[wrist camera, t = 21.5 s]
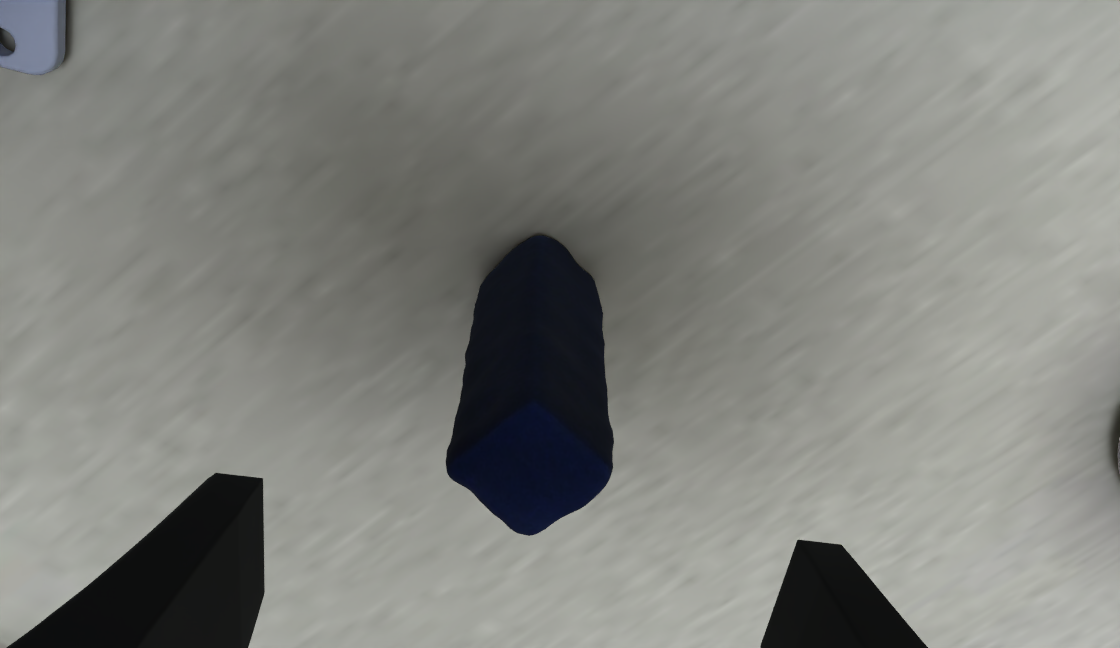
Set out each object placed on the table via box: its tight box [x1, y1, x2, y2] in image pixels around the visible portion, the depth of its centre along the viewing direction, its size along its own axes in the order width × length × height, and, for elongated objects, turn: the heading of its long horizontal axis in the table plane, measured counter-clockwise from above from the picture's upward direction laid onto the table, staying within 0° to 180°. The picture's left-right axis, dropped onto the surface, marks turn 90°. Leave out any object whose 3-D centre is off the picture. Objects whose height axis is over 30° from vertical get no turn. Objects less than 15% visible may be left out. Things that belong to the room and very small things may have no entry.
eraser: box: [446, 236, 614, 536], centre depth 17 cm, size 2×2×7 cm
